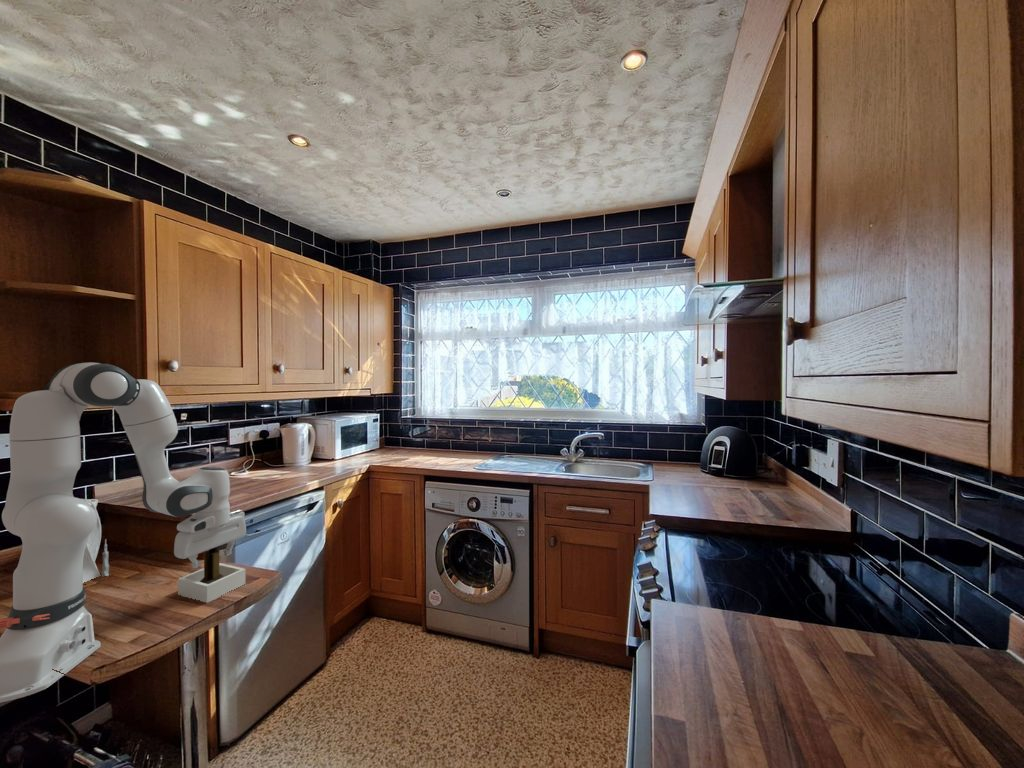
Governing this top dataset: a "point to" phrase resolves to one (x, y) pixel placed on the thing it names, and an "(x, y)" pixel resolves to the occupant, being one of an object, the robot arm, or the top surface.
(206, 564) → the dark brown tall piece
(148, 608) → the top surface
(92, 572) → the skyscraper
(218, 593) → the open rectangular tray
